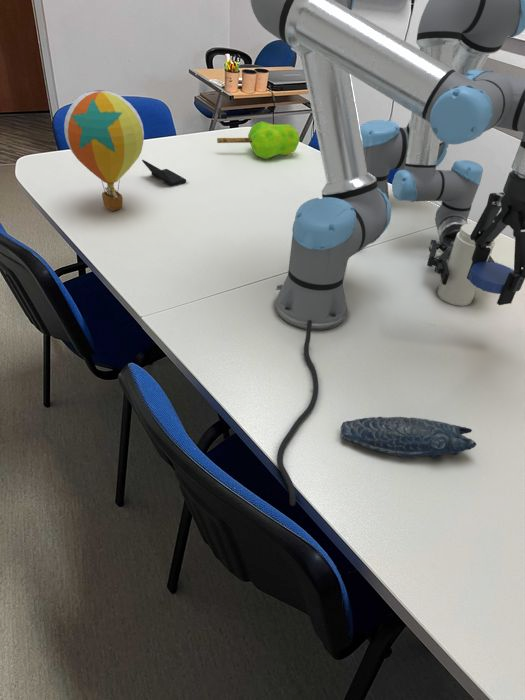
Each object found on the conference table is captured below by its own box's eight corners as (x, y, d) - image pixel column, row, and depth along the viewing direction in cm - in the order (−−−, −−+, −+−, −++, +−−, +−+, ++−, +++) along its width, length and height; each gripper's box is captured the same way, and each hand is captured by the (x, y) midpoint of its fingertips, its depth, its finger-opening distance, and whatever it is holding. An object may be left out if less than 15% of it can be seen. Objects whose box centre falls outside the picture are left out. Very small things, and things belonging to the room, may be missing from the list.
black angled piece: (190, 175, 164) (173, 153, 156) (179, 193, 163) (161, 172, 155) (166, 170, 170) (147, 148, 162) (155, 188, 169) (136, 167, 161)
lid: (463, 268, 103) (466, 259, 101) (507, 272, 103) (510, 263, 102) (474, 292, 96) (478, 282, 95) (522, 296, 96) (526, 286, 95)
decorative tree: (214, 118, 187) (294, 118, 193) (214, 147, 194) (292, 146, 199) (220, 132, 174) (307, 132, 179) (220, 164, 180) (304, 162, 185)
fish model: (474, 470, 81) (484, 449, 78) (339, 453, 82) (344, 431, 79) (465, 439, 86) (475, 417, 83) (339, 423, 87) (344, 401, 84)
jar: (467, 288, 125) (491, 224, 115) (476, 307, 119) (502, 240, 109) (434, 285, 125) (455, 221, 115) (441, 304, 119) (464, 237, 108)
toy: (64, 203, 145) (44, 85, 127) (127, 189, 156) (117, 79, 137) (97, 229, 134) (80, 105, 116) (162, 213, 145) (156, 96, 126)
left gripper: (601, 198, 80) (542, 318, 94) (509, 152, 95) (470, 261, 109) (564, 201, 78) (509, 324, 92) (475, 154, 93) (440, 265, 107)
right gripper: (491, 256, 133) (508, 304, 116) (409, 244, 135) (413, 289, 118) (502, 230, 129) (521, 275, 111) (417, 217, 131) (422, 260, 113)
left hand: (488, 290), depth 100 cm, fingers closed on lid, 9 cm apart
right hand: (466, 282), depth 114 cm, fingers closed on jar, 8 cm apart
